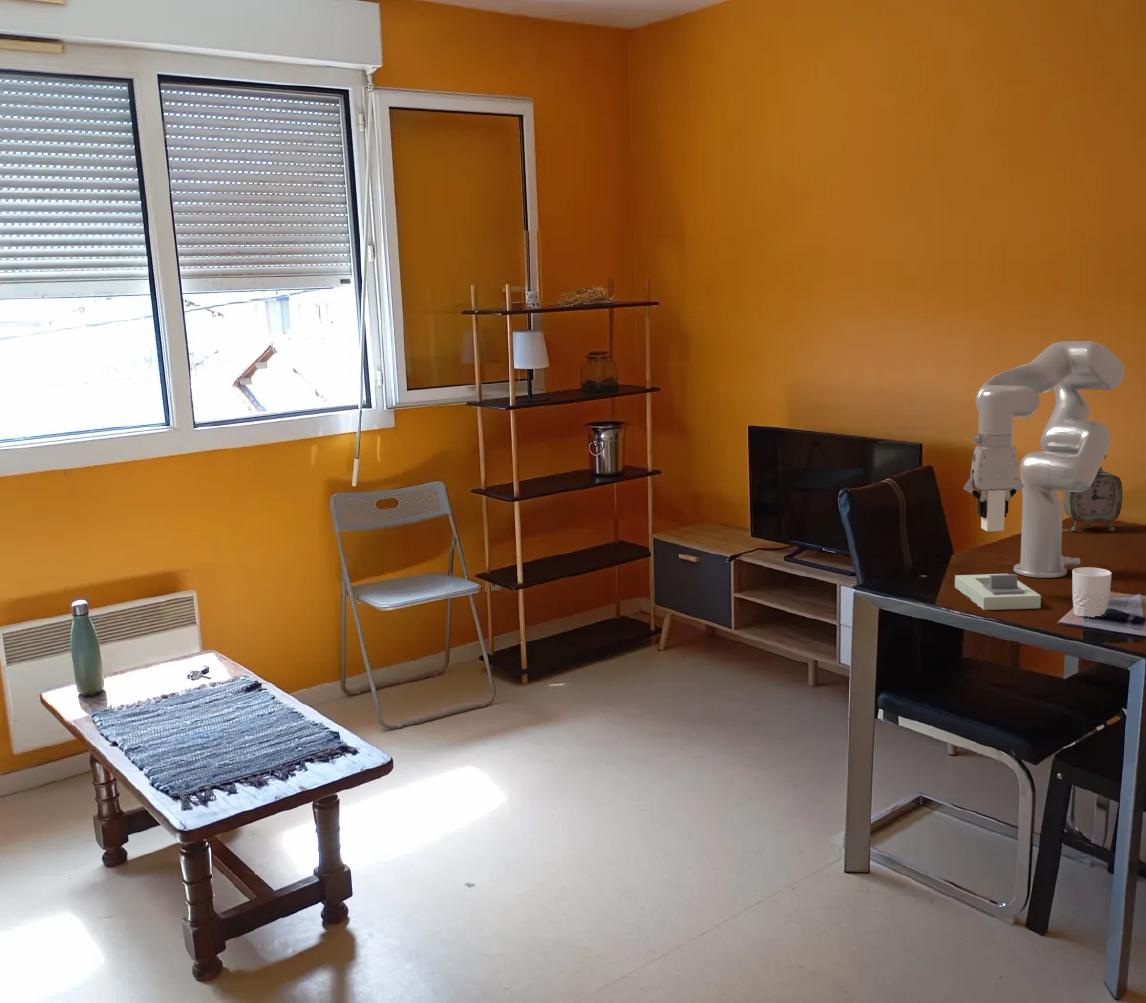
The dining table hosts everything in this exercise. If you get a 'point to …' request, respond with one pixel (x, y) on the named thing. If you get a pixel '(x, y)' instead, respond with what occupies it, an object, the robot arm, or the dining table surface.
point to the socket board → (989, 601)
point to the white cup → (1090, 591)
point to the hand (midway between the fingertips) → (992, 515)
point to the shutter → (1003, 584)
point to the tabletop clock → (1095, 501)
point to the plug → (994, 510)
